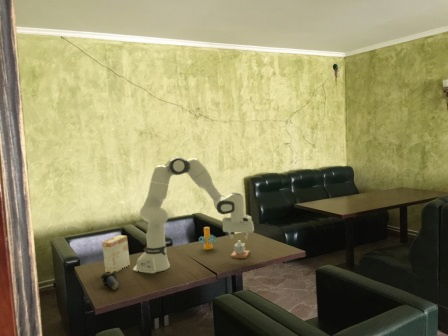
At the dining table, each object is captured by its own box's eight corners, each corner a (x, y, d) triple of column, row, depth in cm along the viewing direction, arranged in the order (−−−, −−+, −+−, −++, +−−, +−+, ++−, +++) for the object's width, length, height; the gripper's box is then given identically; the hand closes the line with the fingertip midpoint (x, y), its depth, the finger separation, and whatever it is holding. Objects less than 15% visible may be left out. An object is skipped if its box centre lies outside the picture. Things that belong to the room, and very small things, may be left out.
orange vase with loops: (217, 245, 263) (216, 225, 261) (216, 250, 253) (214, 229, 251) (200, 246, 264) (199, 226, 263) (198, 251, 254) (196, 230, 252)
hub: (234, 252, 238) (234, 245, 237) (236, 249, 243) (236, 243, 242) (243, 252, 236) (242, 246, 236) (245, 250, 241) (244, 243, 241)
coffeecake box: (122, 264, 239) (119, 234, 237) (130, 265, 236) (127, 235, 234) (104, 272, 226) (101, 241, 224) (113, 274, 223) (110, 242, 221)
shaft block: (231, 257, 236) (230, 243, 235) (234, 252, 246) (233, 238, 245) (246, 258, 234) (245, 243, 233) (249, 252, 243) (248, 238, 242)
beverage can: (103, 287, 207) (110, 295, 198) (100, 275, 206) (106, 282, 196) (119, 279, 212) (126, 287, 202) (115, 268, 210) (122, 274, 200)
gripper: (220, 218, 237) (221, 239, 238) (251, 219, 231) (252, 240, 232) (223, 216, 243) (224, 236, 244) (253, 216, 237) (254, 237, 238)
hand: (238, 238), depth 238 cm, fingers open, 8 cm apart
